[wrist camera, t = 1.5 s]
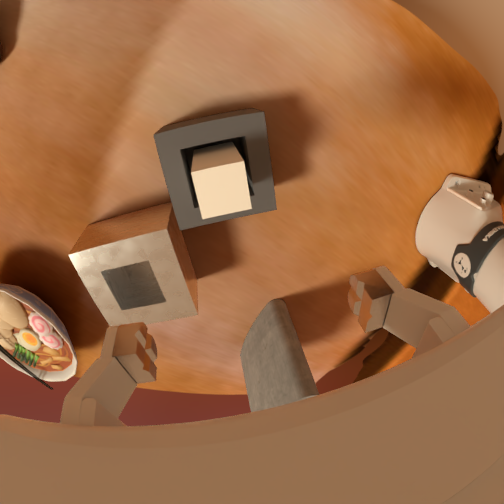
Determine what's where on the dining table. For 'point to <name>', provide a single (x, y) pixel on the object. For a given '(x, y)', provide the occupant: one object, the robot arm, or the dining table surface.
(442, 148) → the dining table surface
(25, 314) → the ramen bowl
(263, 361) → the hip flask
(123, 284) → the port box
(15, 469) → the robot arm
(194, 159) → the plug
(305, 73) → the dining table surface
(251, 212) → the grey square socket block
